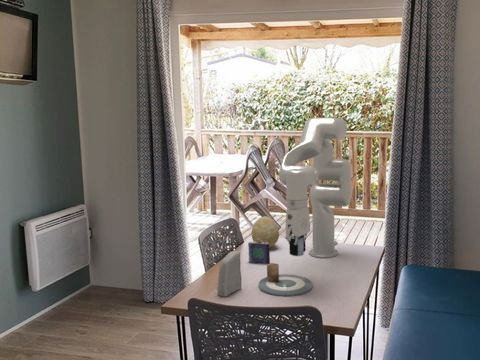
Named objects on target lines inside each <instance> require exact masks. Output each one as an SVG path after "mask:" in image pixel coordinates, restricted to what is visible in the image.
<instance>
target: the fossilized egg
mask: <svg viewBox="0 0 480 360" xmlns="http://www.w3.org/2000/svg"><path fill="white" fill-rule="evenodd" d="M279 237H280V230H279V227H278V225H277V223H276V222H275V220H274V219H272V218H271V217H269V216H266V215H265V216H260V217H259V218H258V219H257V220H256V221H254V223H253V226H252V228H251V239H252V242H257V241H258V240H257V239H258V238H261V239H260V240H261V241H262V242H267V243H269V249H271V248H273V247H274V246H275V245H276V244H277V242H278V240H279Z"/></svg>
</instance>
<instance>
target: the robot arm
mask: <svg viewBox="0 0 480 360" xmlns="http://www.w3.org/2000/svg"><path fill="white" fill-rule="evenodd" d="M347 131H348V128H347V122H346V121H345V119H343V118H338V117H311V118H309V119H307V120H306V121H305V123H304V125H303V128H302V133H301V137H300V140H299V144H297V145H296V146H295V147H293V148H292V149H290V150H289V151H288V152H286V154H285V155H284V156H283V157H282V161H281V164H280V167H279V170H278V171H279V173H278V179H279V182H280V184H281V185H283V186H285V187H286V191H285V192H286V194H285V195H286V197H285V198H286V200H285V201H286V212H285V240H286V241H287V242H288V244H289V255H290V256H293V255H296V256H295V257H298V256H297V255H298V245H297V237H303V243H304V253H305V252H306V241H307V235H308V233H310V231H311V228H312V231H311V232H312V248H311V249H309V250H308V254H309V255H310V257H314V258H320V259H328V258H334V257H336V256H338V255H339V251H338V250H337V249H336V248H335V246H337V245H339V244H338V241H337V240H335V214H334V212H333V210H332V208H331V207H332V206H333V207H347V206H349V205H350V203H351V200H352V165H351V162H350V161H349V160H348V159H346V158H334V145H333V144H332V142H331V141H330V140H342V139H344V138H345V137H346V136H347V135H346V134H347V133H348V132H347ZM310 159H313V166H311V165H297V164H299V163H301V162H304V161H307V160H310ZM318 181H328V182H330V181H331V182H332V181H333V182H335V181H336V182H339V183H326V182H323V183H322V182H320V183H317V182H318ZM308 188H310V191H309V190H308ZM308 191H309V192H308ZM308 193H309V195H310V196H309V195H308ZM308 196H309V197H310V203H311V213H312V215H311V217H312V222H311V218H310V210H309V206H308V205H309V204H308V203H309V201H308V198H309V197H308ZM330 206H331V207H330ZM311 223H312V227H311ZM292 237H294V239H293V238H292Z"/></svg>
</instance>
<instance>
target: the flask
mask: <svg viewBox="0 0 480 360" xmlns="http://www.w3.org/2000/svg"><path fill="white" fill-rule="evenodd" d="M260 239H261V238H258V239H257V240H258V241H257V242H254V241H248V244H247V246H248V263H250V264H258V265H259V264H261V265H267V264H271V257H270V256H271V255H270V248H269V243H267V242H262V241H261V240H260Z"/></svg>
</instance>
